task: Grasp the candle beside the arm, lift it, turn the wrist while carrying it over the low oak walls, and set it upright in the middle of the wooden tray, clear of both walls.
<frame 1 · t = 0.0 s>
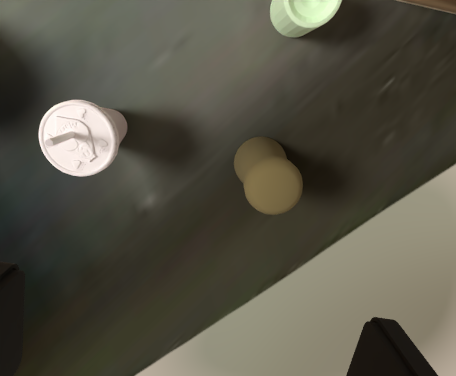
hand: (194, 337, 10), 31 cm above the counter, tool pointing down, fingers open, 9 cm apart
candle: (293, 11, 36), on the counter
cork: (260, 162, 41), on the counter
smoothie: (110, 126, 39), on the counter
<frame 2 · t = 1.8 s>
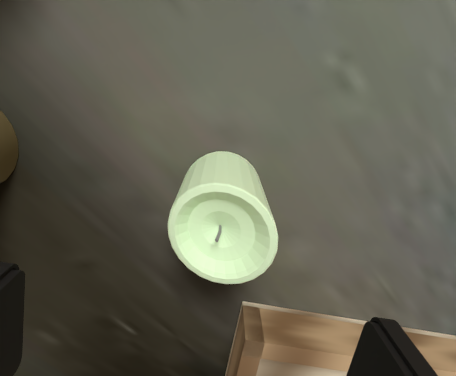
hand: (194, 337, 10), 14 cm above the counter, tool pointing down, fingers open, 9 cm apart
candle: (221, 187, 23), on the counter
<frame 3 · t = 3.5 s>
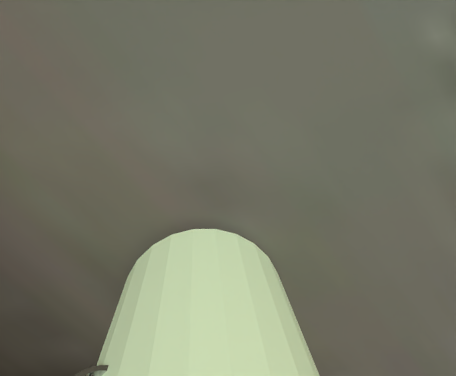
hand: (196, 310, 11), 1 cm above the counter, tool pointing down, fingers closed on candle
candle: (203, 294, 12), on the counter, touching gripper
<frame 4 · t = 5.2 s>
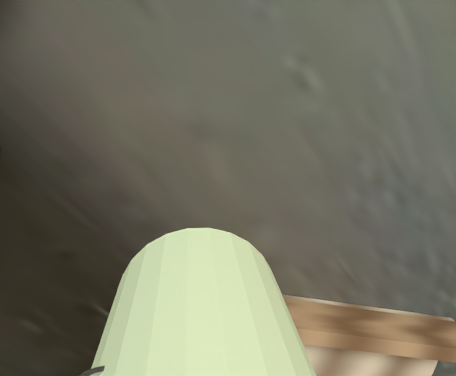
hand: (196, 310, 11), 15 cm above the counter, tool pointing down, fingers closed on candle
candle: (198, 293, 12), point 14 cm above the counter, touching gripper
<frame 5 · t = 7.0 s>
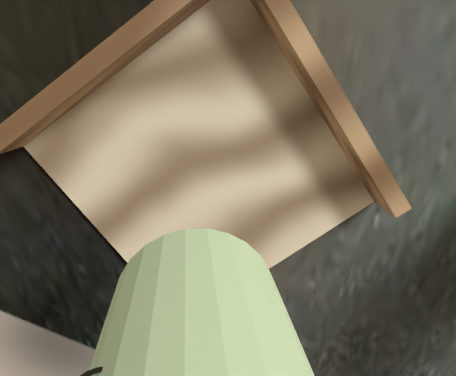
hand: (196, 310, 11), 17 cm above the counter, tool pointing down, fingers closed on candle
candle: (196, 294, 12), point 16 cm above the counter, touching gripper
wooden tray: (207, 162, 27), on the counter
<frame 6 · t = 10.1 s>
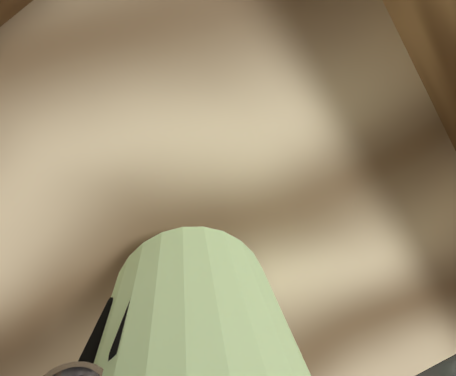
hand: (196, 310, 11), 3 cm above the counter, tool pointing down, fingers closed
candle: (191, 290, 12), point 1 cm above the counter, touching gripper
wooden tray: (201, 233, 13), on the counter
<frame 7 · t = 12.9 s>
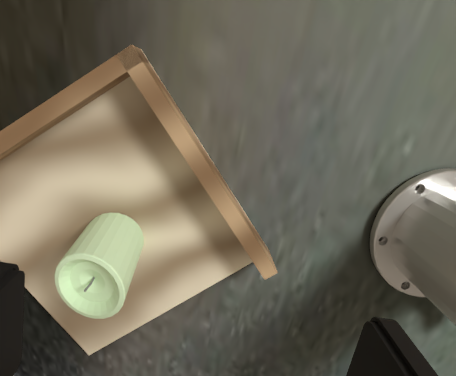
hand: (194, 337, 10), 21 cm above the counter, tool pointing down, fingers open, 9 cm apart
candle: (115, 237, 31), resting on wooden tray
wooden tray: (112, 219, 31), on the counter
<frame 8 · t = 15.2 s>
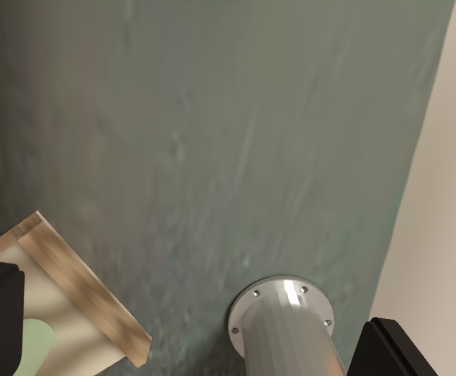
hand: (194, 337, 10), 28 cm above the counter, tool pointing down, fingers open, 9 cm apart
candle: (35, 334, 42), resting on wooden tray
wooden tray: (32, 321, 42), on the counter
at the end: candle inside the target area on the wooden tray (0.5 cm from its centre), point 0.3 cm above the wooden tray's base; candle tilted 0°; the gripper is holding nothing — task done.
